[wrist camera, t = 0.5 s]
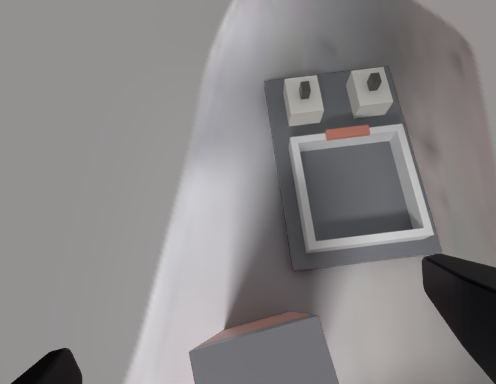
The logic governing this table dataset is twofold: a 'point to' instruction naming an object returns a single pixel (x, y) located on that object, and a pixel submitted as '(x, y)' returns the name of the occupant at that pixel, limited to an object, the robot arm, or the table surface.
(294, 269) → the panel
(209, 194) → the table surface
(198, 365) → the cap
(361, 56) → the table surface
